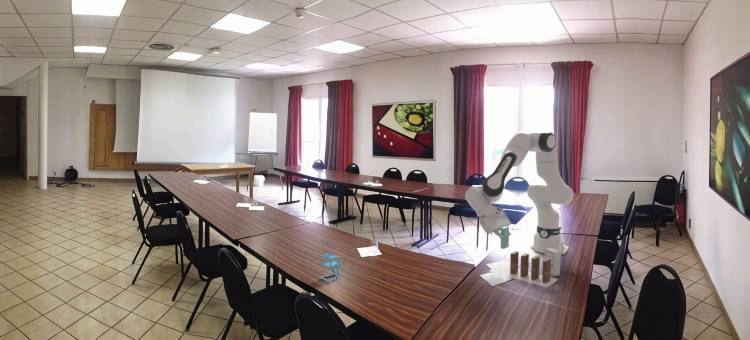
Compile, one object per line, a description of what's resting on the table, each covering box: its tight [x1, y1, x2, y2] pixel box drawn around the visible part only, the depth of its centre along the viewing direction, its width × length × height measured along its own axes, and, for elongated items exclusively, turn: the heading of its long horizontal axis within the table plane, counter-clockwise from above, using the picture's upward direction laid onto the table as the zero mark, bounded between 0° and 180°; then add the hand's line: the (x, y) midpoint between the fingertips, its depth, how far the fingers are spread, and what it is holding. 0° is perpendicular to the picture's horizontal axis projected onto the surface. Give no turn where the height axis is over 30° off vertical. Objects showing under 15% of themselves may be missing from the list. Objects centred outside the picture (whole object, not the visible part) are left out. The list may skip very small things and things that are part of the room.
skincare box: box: [544, 248, 562, 277], centre depth 176 cm, size 6×4×12 cm
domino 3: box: [520, 253, 530, 277], centre depth 173 cm, size 2×5×10 cm, turn 134°
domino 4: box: [530, 255, 541, 280], centre depth 170 cm, size 2×5×10 cm, turn 134°
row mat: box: [488, 264, 559, 288], centre depth 174 cm, size 13×28×1 cm, turn 44°
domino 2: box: [509, 250, 520, 275], centre depth 177 cm, size 2×5×10 cm, turn 134°
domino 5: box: [541, 258, 551, 283], centre depth 166 cm, size 2×5×10 cm, turn 134°
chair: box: [319, 252, 342, 283], centre depth 173 cm, size 8×8×12 cm
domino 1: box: [500, 226, 510, 250], centre depth 179 cm, size 2×5×10 cm, turn 134°
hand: (506, 236), depth 179 cm, fingers closed on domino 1, 5 cm apart
